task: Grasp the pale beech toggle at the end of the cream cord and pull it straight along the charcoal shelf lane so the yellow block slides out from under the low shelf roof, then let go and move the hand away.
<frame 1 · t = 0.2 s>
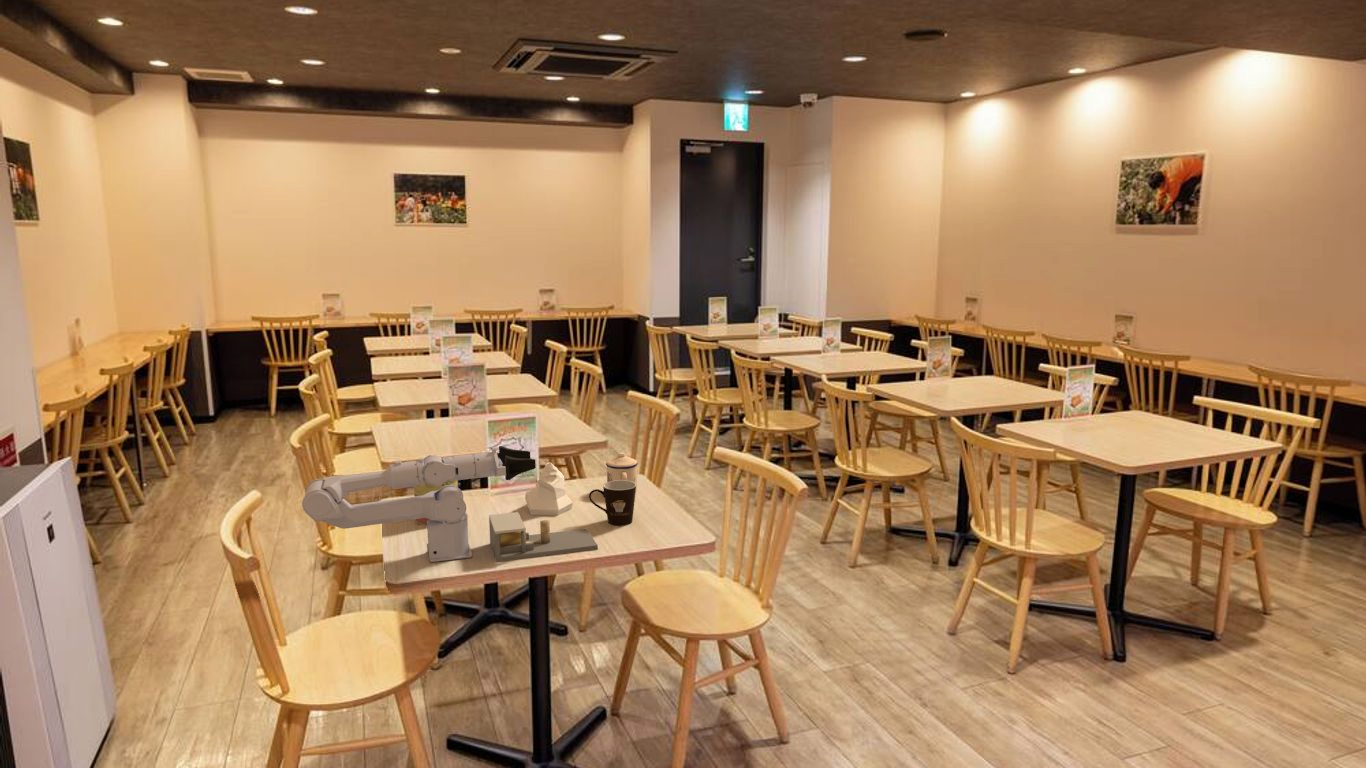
hand: (532, 459, 205), 21 cm above the table, tool horizontal, fingers open, 7 cm apart
coffee mug: (615, 521, 226), on the table
cream faceted rock: (551, 508, 236), on the table
yellow block: (524, 534, 206), point 4 cm above the table, slide at 0.0 cm
shelf lane: (543, 546, 208), on the table
teacup with lid: (622, 493, 249), on the table
canned food: (437, 519, 227), on the table
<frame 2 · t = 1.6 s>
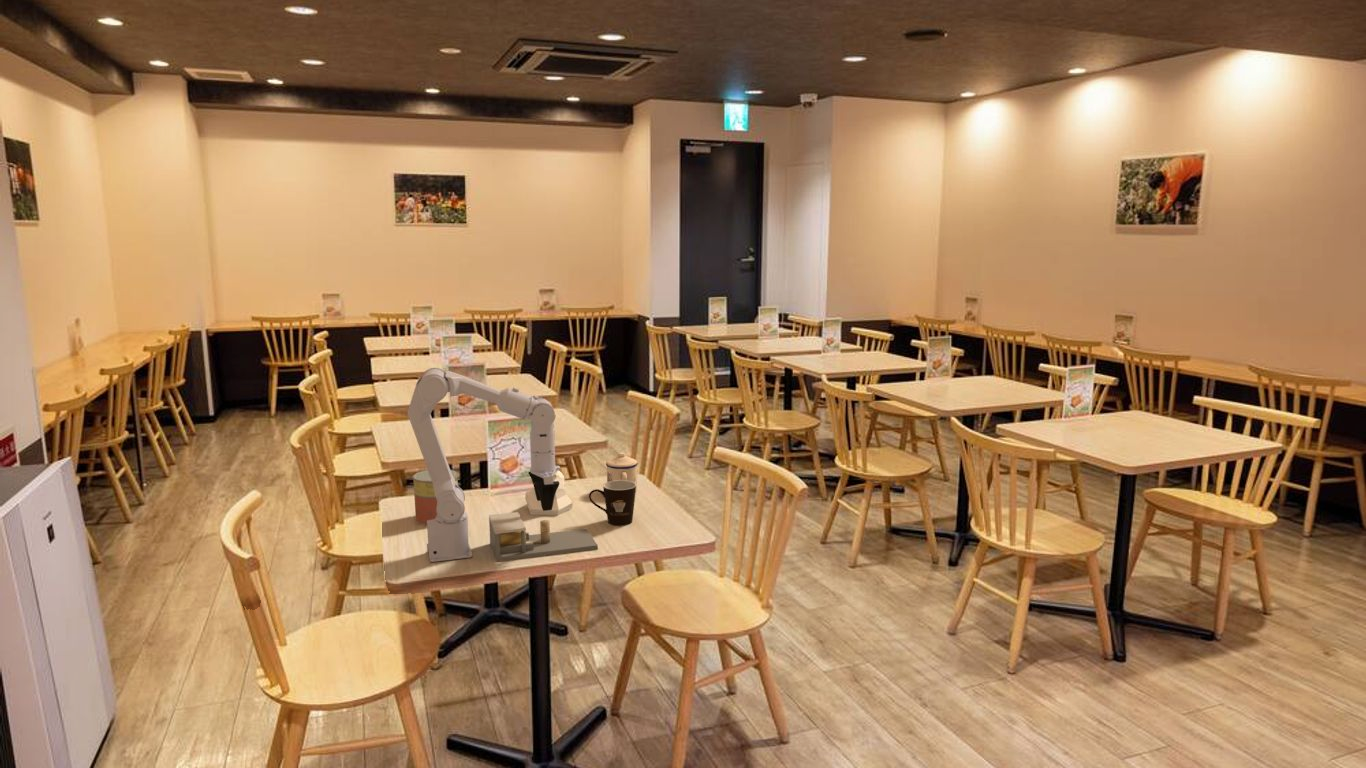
hand: (544, 505, 206), 10 cm above the table, tool pointing down, fingers open, 7 cm apart
nothing on the table moved.
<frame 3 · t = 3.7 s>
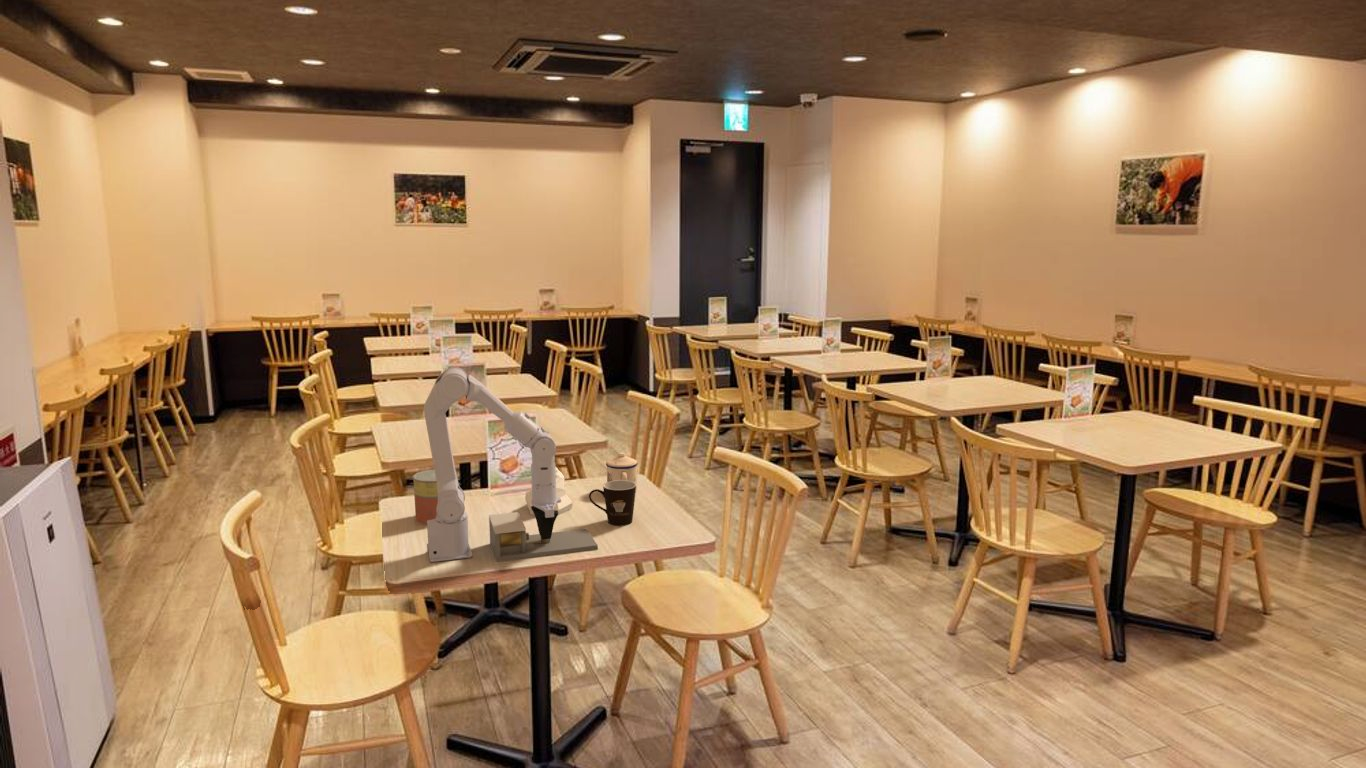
hand: (545, 536, 208), 2 cm above the table, tool pointing down, fingers closed on yellow block, 2 cm apart
yellow block: (524, 534, 206), point 4 cm above the table, slide at 0.0 cm, touching gripper
everything else where it was.
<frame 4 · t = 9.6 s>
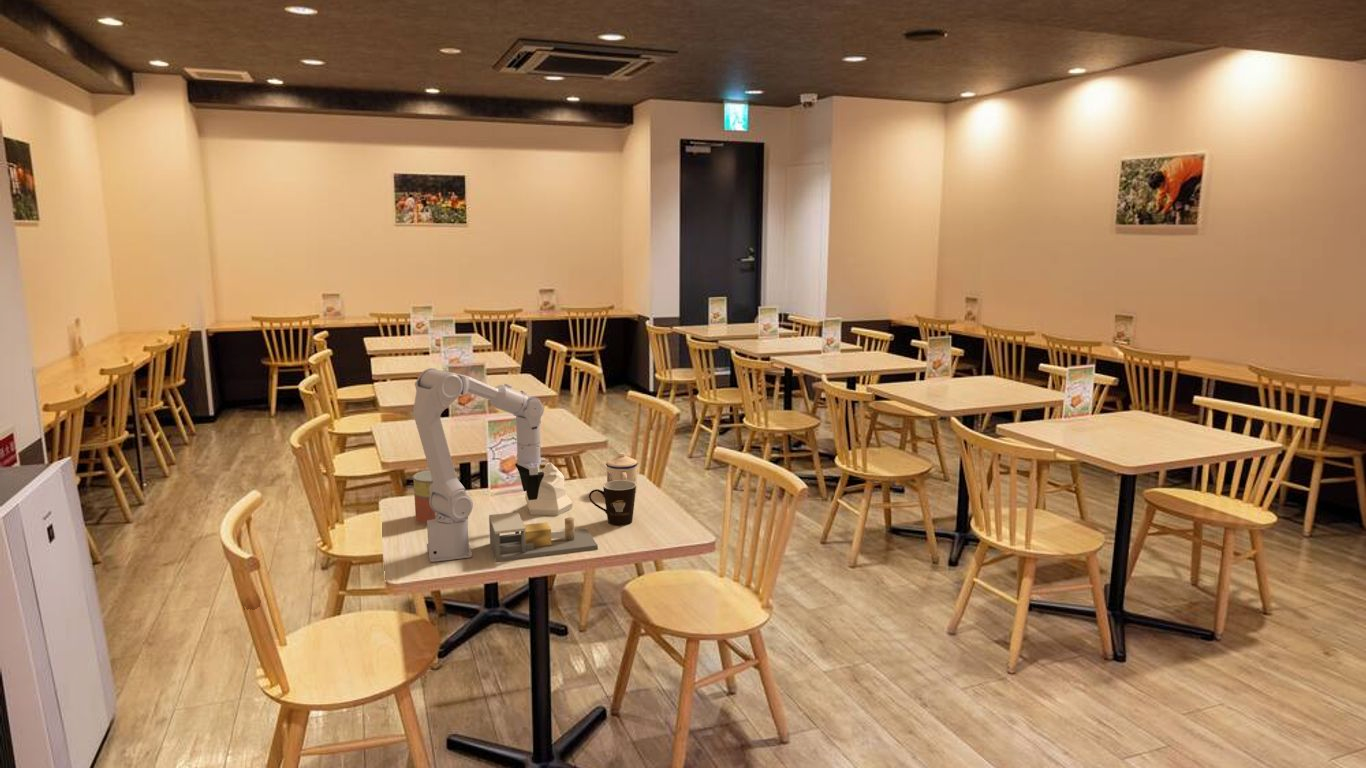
hand: (530, 494, 217), 9 cm above the table, tool pointing down, fingers open, 7 cm apart
yellow block: (549, 531, 208), point 4 cm above the table, slide at 6.0 cm
everything else where it was.
at the end: yellow block slide at 6.0 cm; the gripper is holding nothing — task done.
